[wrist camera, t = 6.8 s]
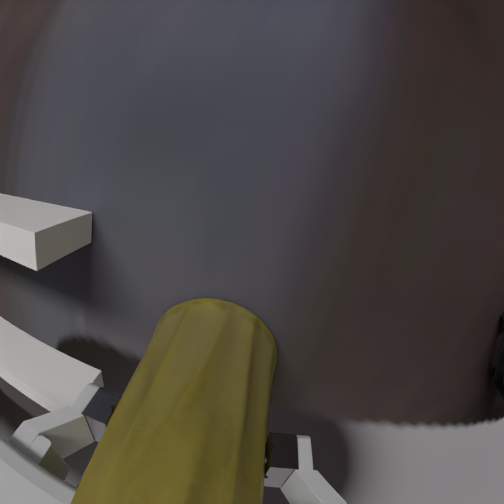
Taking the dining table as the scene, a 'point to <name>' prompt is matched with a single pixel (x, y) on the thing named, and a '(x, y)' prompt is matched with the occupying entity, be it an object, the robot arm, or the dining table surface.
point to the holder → (499, 369)
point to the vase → (190, 414)
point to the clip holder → (37, 257)
